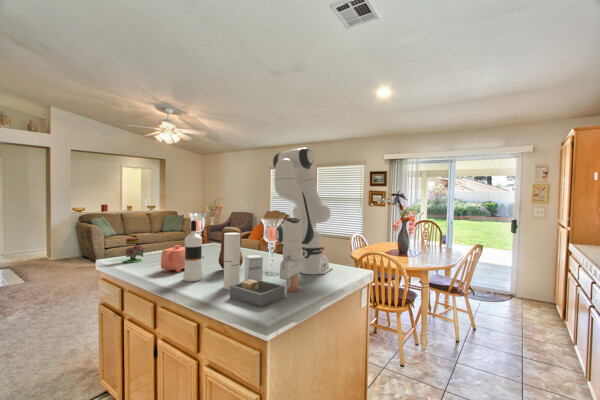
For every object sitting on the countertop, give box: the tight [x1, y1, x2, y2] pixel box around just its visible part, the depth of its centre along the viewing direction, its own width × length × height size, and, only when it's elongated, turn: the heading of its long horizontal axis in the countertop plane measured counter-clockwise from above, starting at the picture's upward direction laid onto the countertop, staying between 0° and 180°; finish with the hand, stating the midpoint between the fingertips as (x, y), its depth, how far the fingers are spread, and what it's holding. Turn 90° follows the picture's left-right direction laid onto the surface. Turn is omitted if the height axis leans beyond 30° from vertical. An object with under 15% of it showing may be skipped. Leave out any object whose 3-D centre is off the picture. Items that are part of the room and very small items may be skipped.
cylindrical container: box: [223, 233, 241, 290], centre depth 135 cm, size 7×7×25 cm
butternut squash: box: [218, 226, 244, 270], centre depth 166 cm, size 14×13×25 cm
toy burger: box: [122, 237, 146, 264], centre depth 187 cm, size 12×13×15 cm
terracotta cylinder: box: [286, 273, 299, 293], centre depth 131 cm, size 5×5×7 cm
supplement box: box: [244, 254, 264, 281], centre depth 145 cm, size 7×7×13 cm
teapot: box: [160, 244, 185, 273], centre depth 167 cm, size 22×13×14 cm, turn 168°
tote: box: [229, 279, 286, 309], centre depth 120 cm, size 14×18×5 cm
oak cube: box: [241, 279, 259, 293], centre depth 123 cm, size 5×5×5 cm
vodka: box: [182, 220, 204, 283], centre depth 147 cm, size 9×9×30 cm
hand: (292, 284), depth 131 cm, fingers closed on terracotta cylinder, 5 cm apart
